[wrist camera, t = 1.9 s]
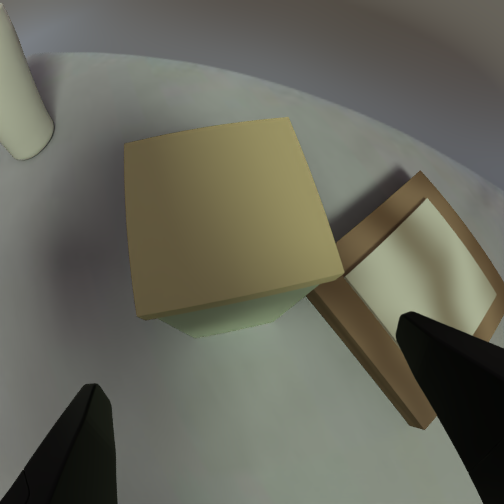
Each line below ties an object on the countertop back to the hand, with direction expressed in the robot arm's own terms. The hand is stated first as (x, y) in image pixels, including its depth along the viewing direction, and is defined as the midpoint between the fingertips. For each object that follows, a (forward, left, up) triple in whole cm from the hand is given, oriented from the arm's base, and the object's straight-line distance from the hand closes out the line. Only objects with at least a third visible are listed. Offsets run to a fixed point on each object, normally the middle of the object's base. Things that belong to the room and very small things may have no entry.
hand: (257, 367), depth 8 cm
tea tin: (+2, +4, -11) cm, 12 cm away
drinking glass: (-5, +27, -11) cm, 30 cm away
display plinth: (+13, -5, -11) cm, 18 cm away
